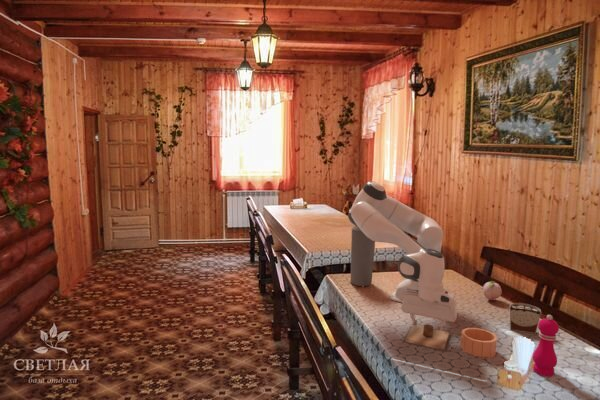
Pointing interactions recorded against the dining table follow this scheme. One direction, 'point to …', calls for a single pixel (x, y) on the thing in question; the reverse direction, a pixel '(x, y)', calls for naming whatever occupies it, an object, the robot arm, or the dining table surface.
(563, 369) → the dining table surface
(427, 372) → the dining table surface
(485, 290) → the decorative fruit
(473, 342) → the bowl
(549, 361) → the pepper mill
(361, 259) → the canister
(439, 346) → the lid
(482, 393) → the dining table surface
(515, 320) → the food container
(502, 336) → the dining table surface
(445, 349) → the mat
